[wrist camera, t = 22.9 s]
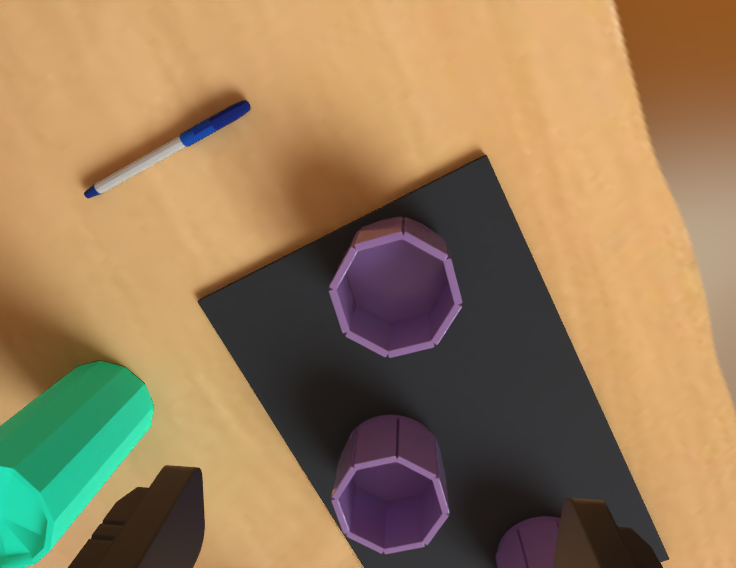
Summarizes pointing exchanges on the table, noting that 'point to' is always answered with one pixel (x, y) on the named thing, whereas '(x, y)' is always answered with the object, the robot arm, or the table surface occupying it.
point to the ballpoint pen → (171, 147)
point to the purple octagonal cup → (391, 485)
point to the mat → (438, 378)
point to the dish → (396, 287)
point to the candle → (65, 455)
